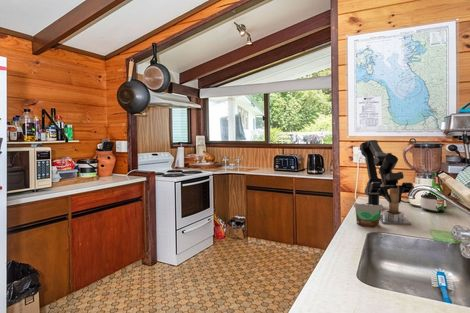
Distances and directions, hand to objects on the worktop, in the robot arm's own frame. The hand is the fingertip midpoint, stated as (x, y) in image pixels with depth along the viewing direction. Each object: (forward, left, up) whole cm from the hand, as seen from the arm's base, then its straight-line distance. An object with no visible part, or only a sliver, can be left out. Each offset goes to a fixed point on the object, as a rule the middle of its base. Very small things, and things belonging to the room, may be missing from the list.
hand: (395, 202), depth 144 cm
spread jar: (-26, +24, -9) cm, 37 cm away
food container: (+10, -13, -9) cm, 19 cm away
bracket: (-1, 0, -9) cm, 9 cm away
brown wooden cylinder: (-1, 0, -7) cm, 7 cm away
